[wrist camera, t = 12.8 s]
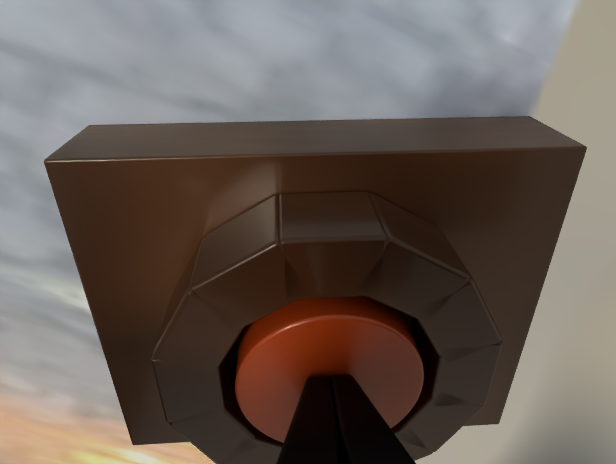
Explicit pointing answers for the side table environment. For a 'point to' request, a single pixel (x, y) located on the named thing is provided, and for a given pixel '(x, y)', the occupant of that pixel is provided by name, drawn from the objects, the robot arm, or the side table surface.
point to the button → (326, 358)
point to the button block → (310, 255)
